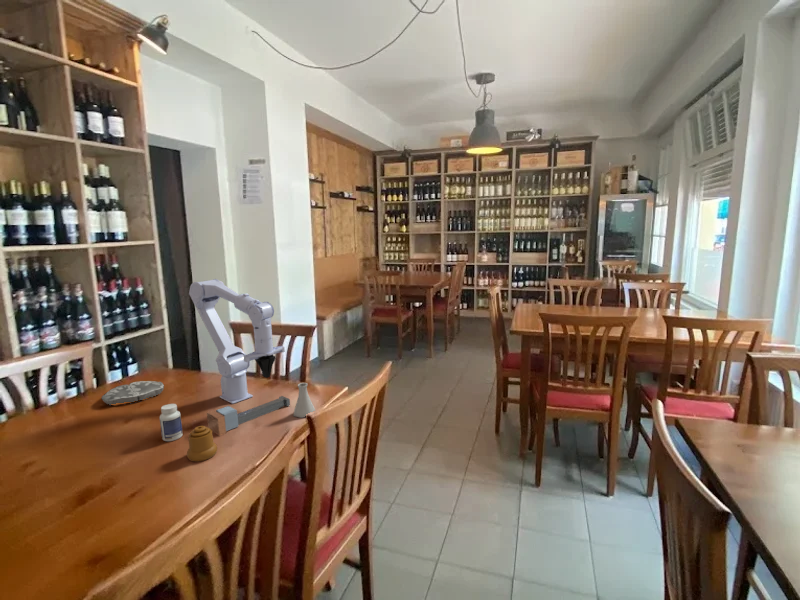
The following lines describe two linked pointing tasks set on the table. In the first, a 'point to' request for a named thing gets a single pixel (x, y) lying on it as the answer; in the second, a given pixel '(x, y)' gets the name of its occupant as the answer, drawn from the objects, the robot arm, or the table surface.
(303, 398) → the flask
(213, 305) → the robot arm
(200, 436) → the ornamental finial
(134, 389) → the brain slice
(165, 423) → the pill bottle
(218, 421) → the rail
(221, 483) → the table surface
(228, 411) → the block
